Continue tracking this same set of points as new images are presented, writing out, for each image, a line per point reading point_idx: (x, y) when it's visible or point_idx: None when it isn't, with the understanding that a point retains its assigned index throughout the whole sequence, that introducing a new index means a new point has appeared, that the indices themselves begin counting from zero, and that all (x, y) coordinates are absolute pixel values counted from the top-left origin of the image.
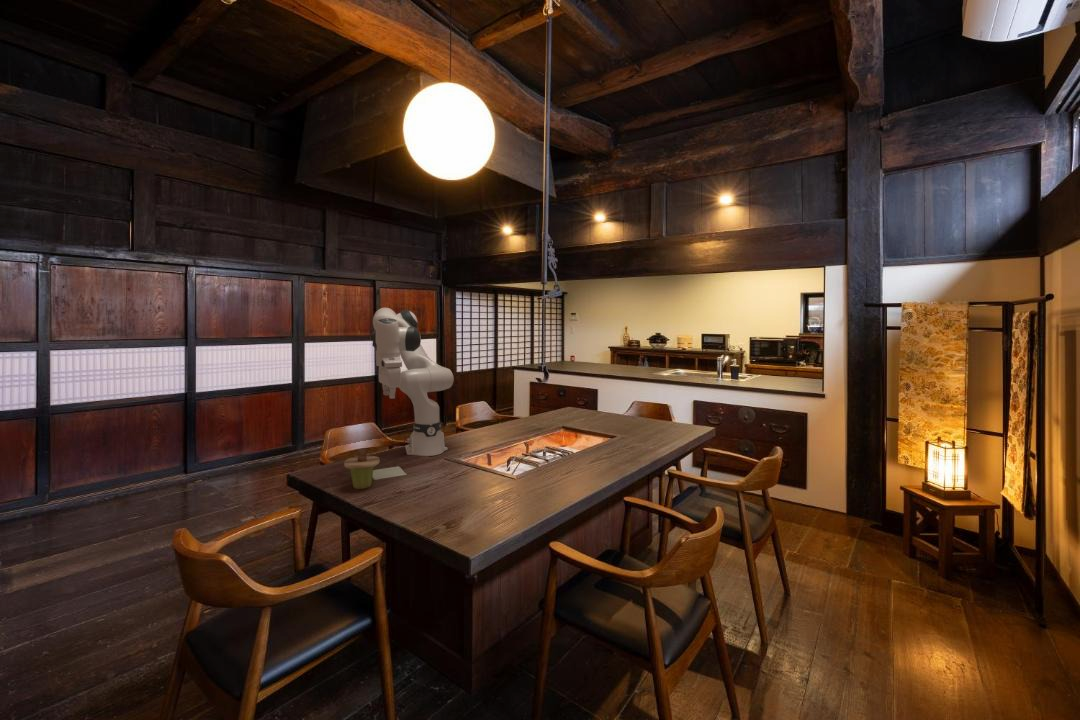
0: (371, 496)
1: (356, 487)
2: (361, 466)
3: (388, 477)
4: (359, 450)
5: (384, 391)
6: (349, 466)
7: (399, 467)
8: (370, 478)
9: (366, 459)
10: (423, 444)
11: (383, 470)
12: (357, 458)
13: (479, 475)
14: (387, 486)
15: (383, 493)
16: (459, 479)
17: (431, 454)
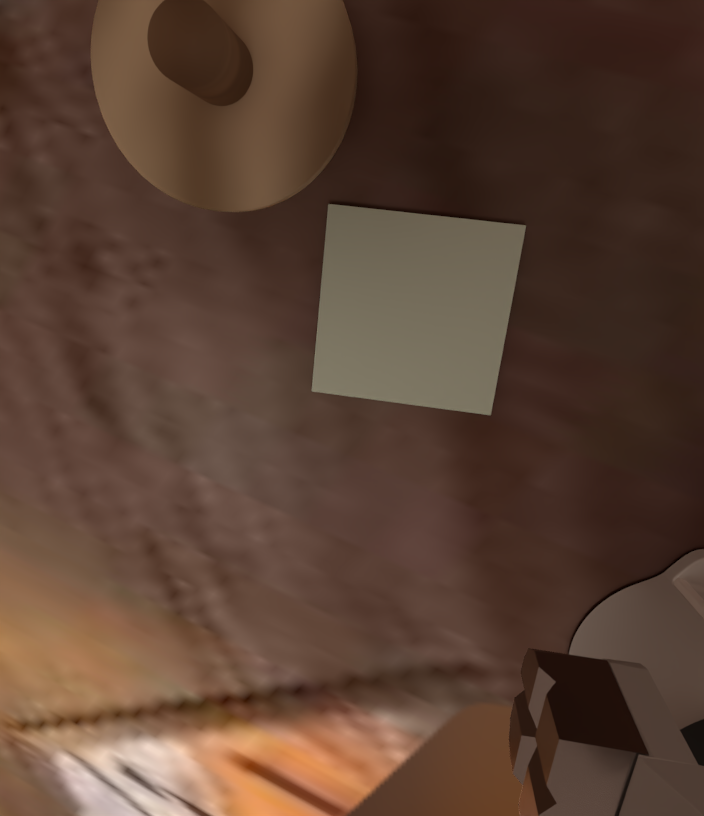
0: (96, 109)
1: None
2: (97, 28)
3: (321, 288)
4: (167, 10)
5: (550, 726)
6: None
7: (464, 408)
8: None
9: (205, 101)
10: (635, 662)
11: (471, 309)
12: (299, 49)
13: (125, 654)
14: (205, 238)
15: (109, 182)
16: (119, 565)
17: (576, 648)
